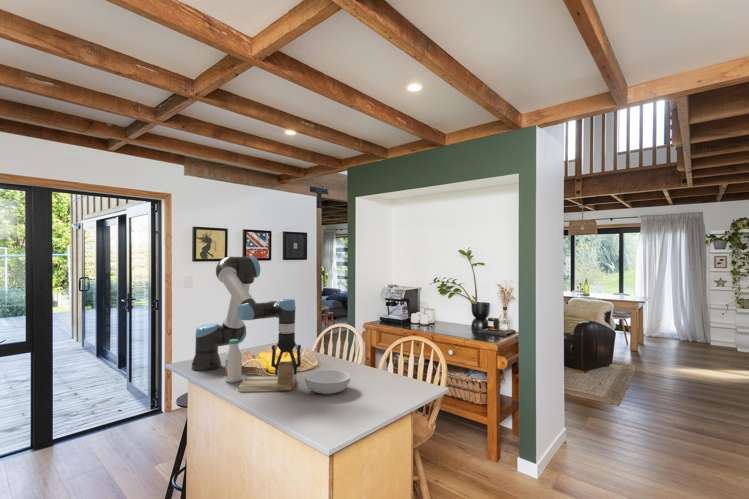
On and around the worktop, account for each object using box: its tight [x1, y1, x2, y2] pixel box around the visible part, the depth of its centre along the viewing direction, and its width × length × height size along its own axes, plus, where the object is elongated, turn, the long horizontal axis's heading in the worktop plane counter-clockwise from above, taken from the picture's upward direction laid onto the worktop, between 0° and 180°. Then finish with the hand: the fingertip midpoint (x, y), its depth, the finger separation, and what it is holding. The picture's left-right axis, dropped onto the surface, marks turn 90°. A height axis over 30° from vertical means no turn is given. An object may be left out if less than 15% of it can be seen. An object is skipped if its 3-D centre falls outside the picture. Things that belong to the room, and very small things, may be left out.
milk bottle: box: [224, 339, 243, 383], centre depth 192 cm, size 8×8×20 cm
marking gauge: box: [278, 360, 294, 390], centre depth 180 cm, size 8×6×11 cm
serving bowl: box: [304, 369, 351, 395], centre depth 178 cm, size 21×21×7 cm
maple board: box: [238, 375, 297, 393], centre depth 183 cm, size 14×24×2 cm, turn 95°
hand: (285, 381), depth 181 cm, fingers closed on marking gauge, 6 cm apart
